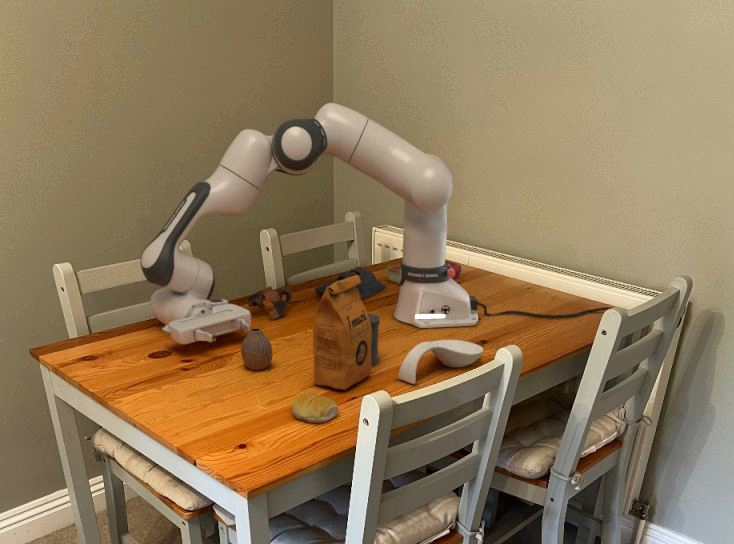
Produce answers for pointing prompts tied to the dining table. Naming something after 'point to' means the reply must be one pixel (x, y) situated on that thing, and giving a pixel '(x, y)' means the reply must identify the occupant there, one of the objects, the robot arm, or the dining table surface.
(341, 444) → the dining table surface
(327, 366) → the coffee package
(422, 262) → the robot arm
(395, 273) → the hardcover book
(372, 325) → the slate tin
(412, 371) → the spoon rest
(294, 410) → the bread roll
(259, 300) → the brown grey irregular piece
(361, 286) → the folded navy cloth
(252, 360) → the vase
